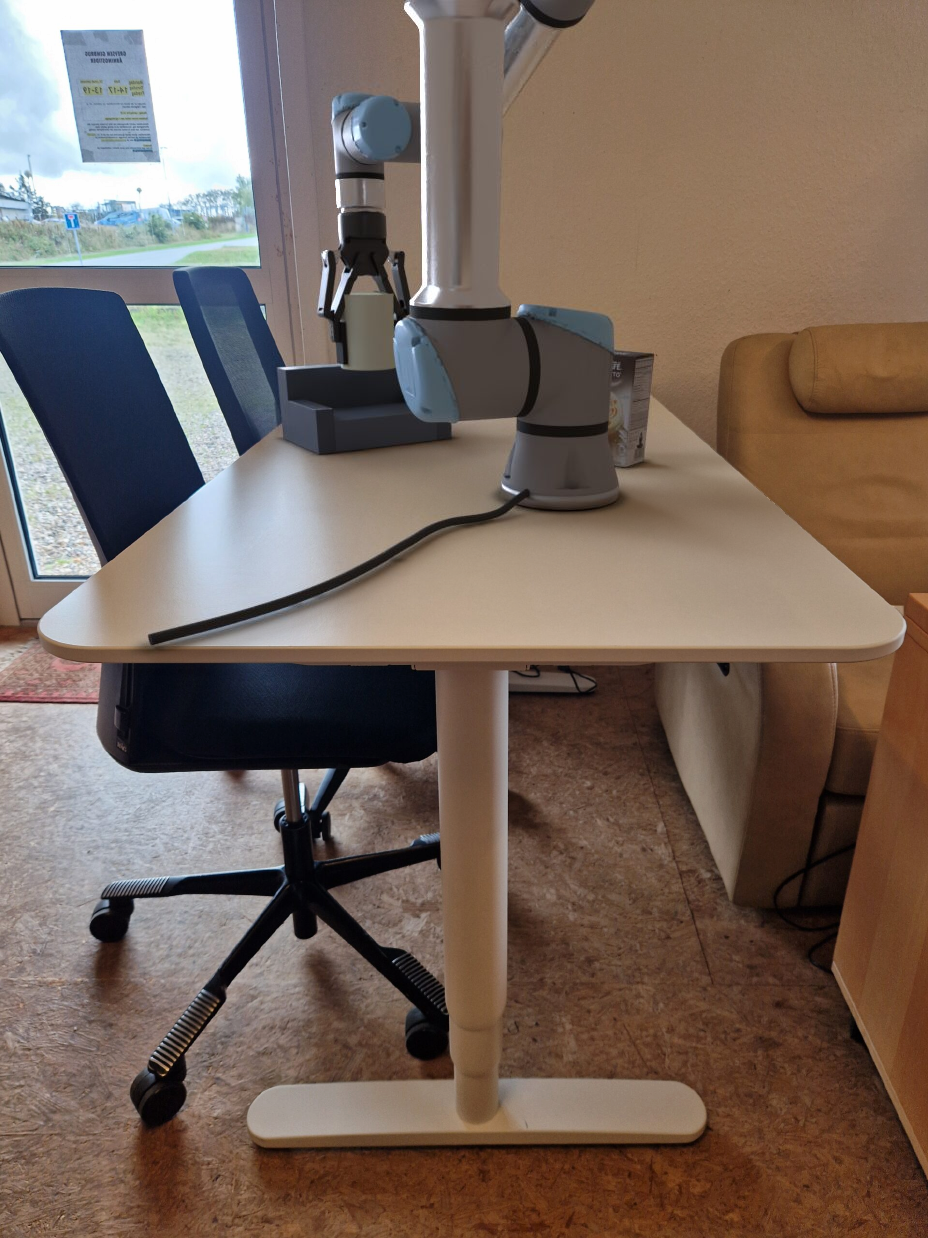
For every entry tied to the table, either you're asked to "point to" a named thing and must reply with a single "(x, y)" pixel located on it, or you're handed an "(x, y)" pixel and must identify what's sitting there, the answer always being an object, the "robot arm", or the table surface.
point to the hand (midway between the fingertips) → (368, 361)
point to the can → (369, 331)
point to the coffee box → (629, 406)
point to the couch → (349, 410)
